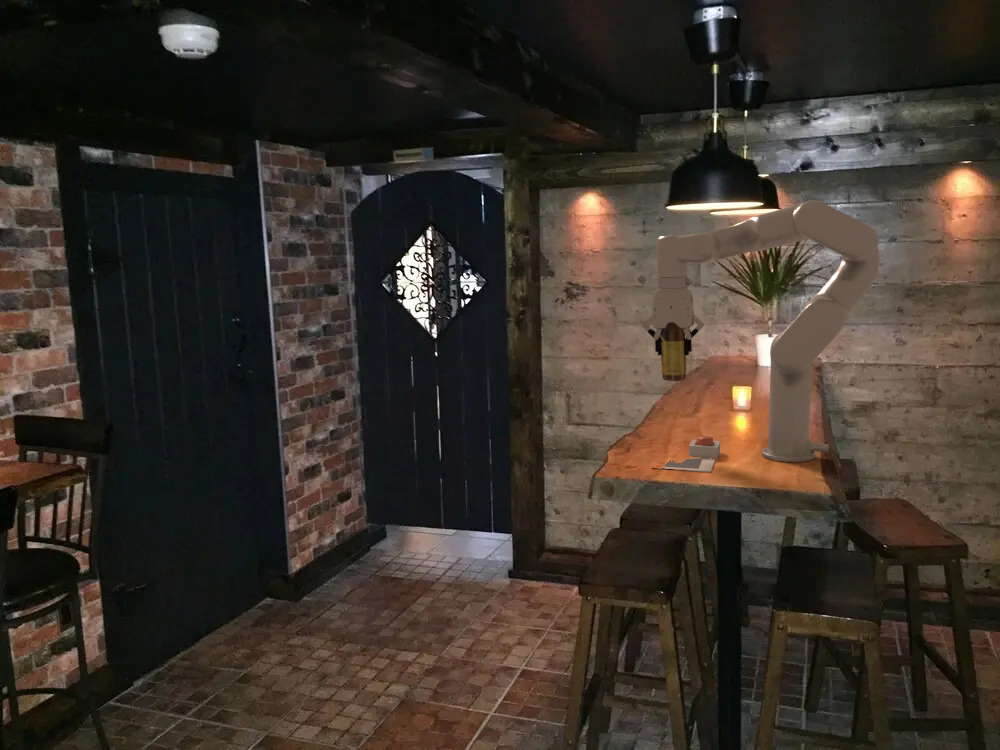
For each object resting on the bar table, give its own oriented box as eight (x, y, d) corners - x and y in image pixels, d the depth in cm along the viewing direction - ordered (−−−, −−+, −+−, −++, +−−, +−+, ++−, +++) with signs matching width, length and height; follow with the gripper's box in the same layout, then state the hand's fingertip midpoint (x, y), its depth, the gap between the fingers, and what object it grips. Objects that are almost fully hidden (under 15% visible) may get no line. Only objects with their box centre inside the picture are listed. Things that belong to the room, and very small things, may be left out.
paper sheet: (715, 460, 205) (715, 458, 205) (710, 472, 194) (710, 470, 193) (658, 456, 209) (658, 455, 209) (650, 468, 198) (650, 467, 198)
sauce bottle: (669, 377, 218) (668, 301, 215) (690, 378, 214) (690, 301, 211) (656, 380, 213) (655, 303, 210) (678, 382, 209) (678, 303, 206)
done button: (713, 447, 211) (713, 436, 210) (712, 451, 207) (712, 439, 207) (697, 447, 212) (697, 435, 212) (695, 450, 208) (695, 438, 208)
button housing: (719, 452, 212) (720, 441, 212) (717, 459, 205) (717, 447, 205) (692, 451, 214) (692, 439, 214) (688, 457, 208) (689, 445, 207)
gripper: (708, 282, 210) (709, 352, 213) (640, 284, 216) (642, 353, 219) (705, 284, 203) (706, 356, 206) (635, 286, 209) (637, 356, 212)
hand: (673, 354), depth 212 cm, fingers closed on sauce bottle, 6 cm apart
